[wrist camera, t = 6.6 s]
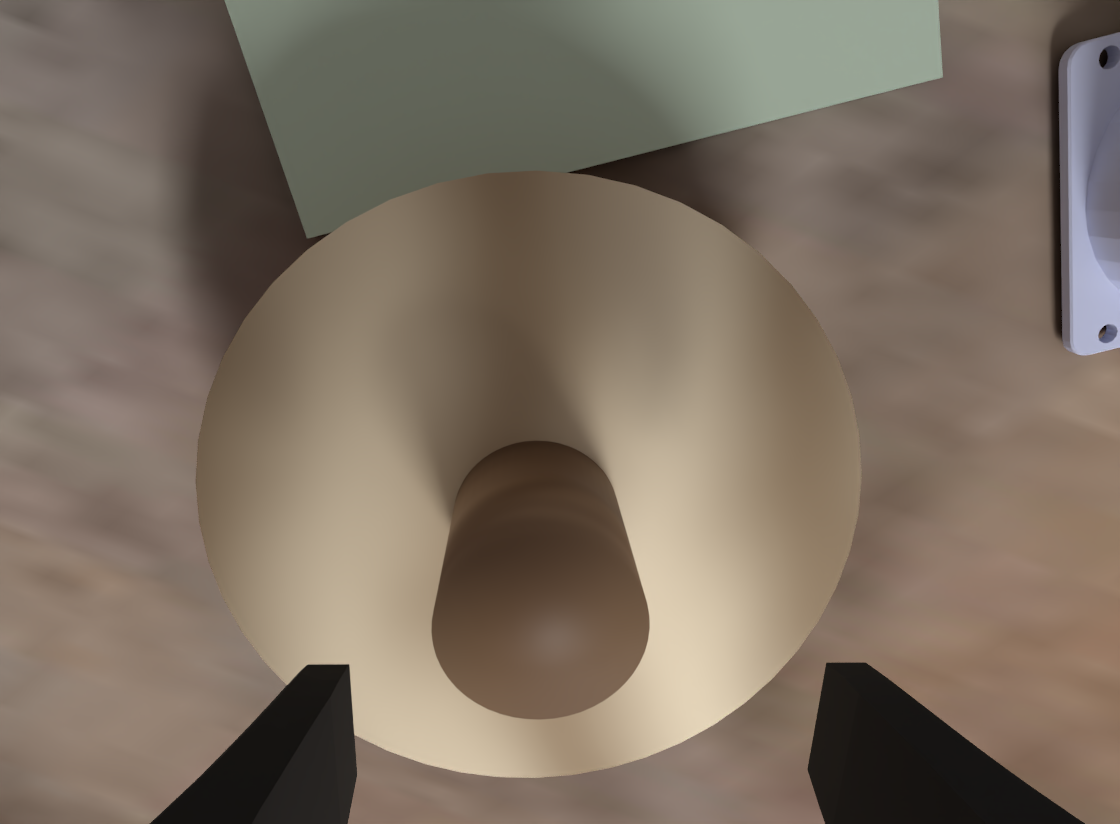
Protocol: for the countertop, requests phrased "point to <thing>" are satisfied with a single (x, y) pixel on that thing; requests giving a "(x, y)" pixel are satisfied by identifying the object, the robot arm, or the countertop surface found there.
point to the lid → (530, 472)
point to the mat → (547, 81)
